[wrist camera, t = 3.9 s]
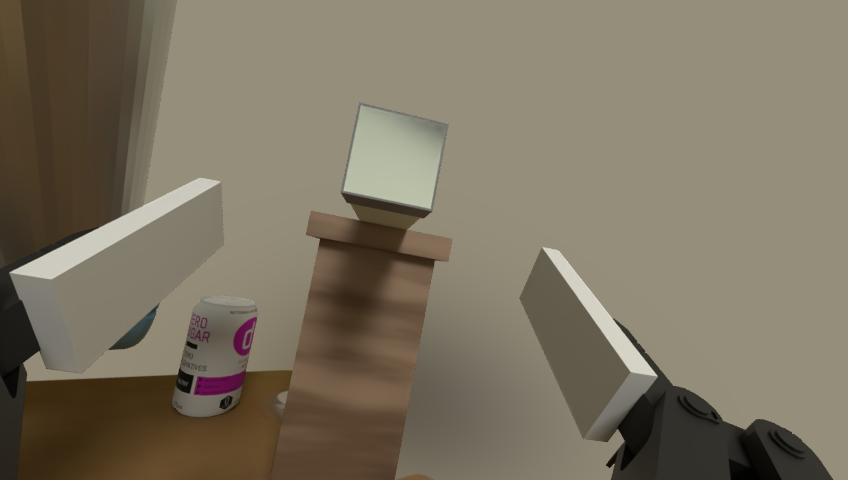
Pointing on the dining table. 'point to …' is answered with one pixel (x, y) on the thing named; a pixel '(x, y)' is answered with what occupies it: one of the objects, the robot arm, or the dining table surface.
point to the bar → (393, 166)
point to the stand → (356, 350)
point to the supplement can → (215, 356)
